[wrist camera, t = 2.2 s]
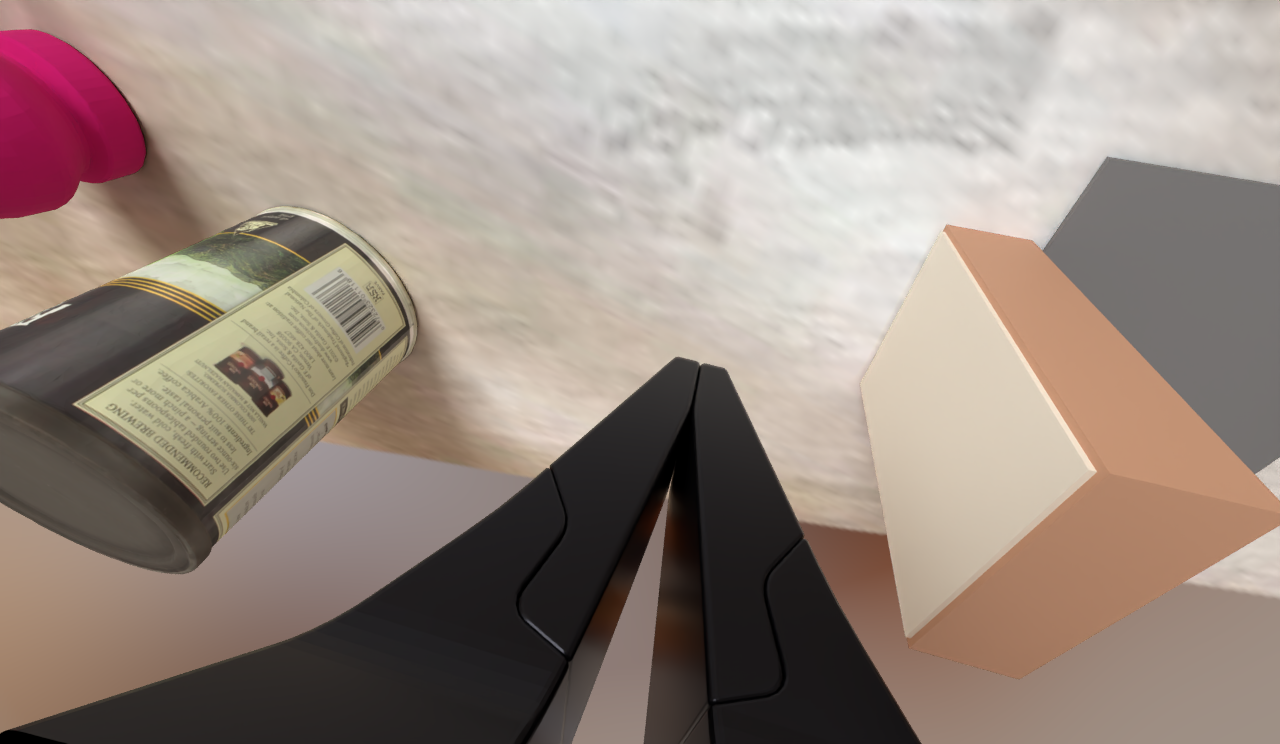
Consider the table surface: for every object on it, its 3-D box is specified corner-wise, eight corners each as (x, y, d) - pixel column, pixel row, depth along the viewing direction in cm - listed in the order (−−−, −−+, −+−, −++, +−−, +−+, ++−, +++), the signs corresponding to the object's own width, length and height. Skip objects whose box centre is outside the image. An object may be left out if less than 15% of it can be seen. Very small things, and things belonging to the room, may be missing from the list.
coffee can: (231, 284, 29) (-95, 460, 18) (271, 160, 23) (-177, 313, 12) (380, 393, 32) (176, 598, 21) (450, 308, 26) (214, 534, 15)
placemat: (1587, 236, 14) (1596, 238, 14) (1190, 513, 23) (1192, 516, 23) (1107, 156, 16) (1110, 158, 15) (908, 446, 25) (908, 449, 24)
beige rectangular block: (1032, 240, 18) (1294, 516, 9) (926, 400, 23) (1019, 679, 14) (942, 223, 18) (1100, 471, 9) (857, 385, 23) (903, 646, 14)
